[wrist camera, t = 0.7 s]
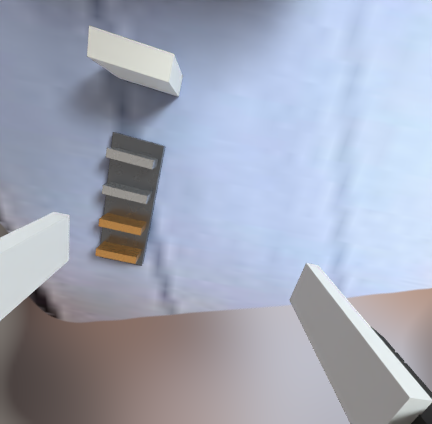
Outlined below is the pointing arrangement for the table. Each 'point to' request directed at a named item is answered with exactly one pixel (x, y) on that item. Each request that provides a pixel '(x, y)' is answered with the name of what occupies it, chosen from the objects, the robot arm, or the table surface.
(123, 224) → the rack
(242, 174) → the table surface
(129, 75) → the panel
